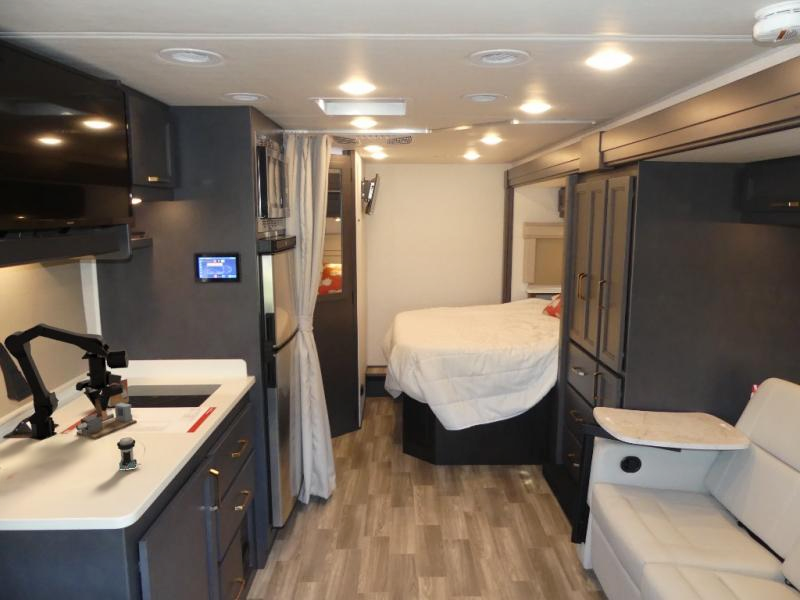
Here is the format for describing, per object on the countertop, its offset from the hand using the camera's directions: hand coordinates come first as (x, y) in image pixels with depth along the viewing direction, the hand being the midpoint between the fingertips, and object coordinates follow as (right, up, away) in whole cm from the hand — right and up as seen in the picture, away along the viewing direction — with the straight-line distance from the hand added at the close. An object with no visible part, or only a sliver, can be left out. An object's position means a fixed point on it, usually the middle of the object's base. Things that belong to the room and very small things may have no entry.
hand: (101, 410), depth 218 cm
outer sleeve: (-2, -8, -3) cm, 8 cm away
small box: (-9, -3, +31) cm, 32 cm away
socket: (+4, -6, +10) cm, 12 cm away
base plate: (+1, -8, +3) cm, 8 cm away
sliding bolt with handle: (-1, -5, -2) cm, 5 cm away
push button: (+25, -13, -30) cm, 41 cm away
